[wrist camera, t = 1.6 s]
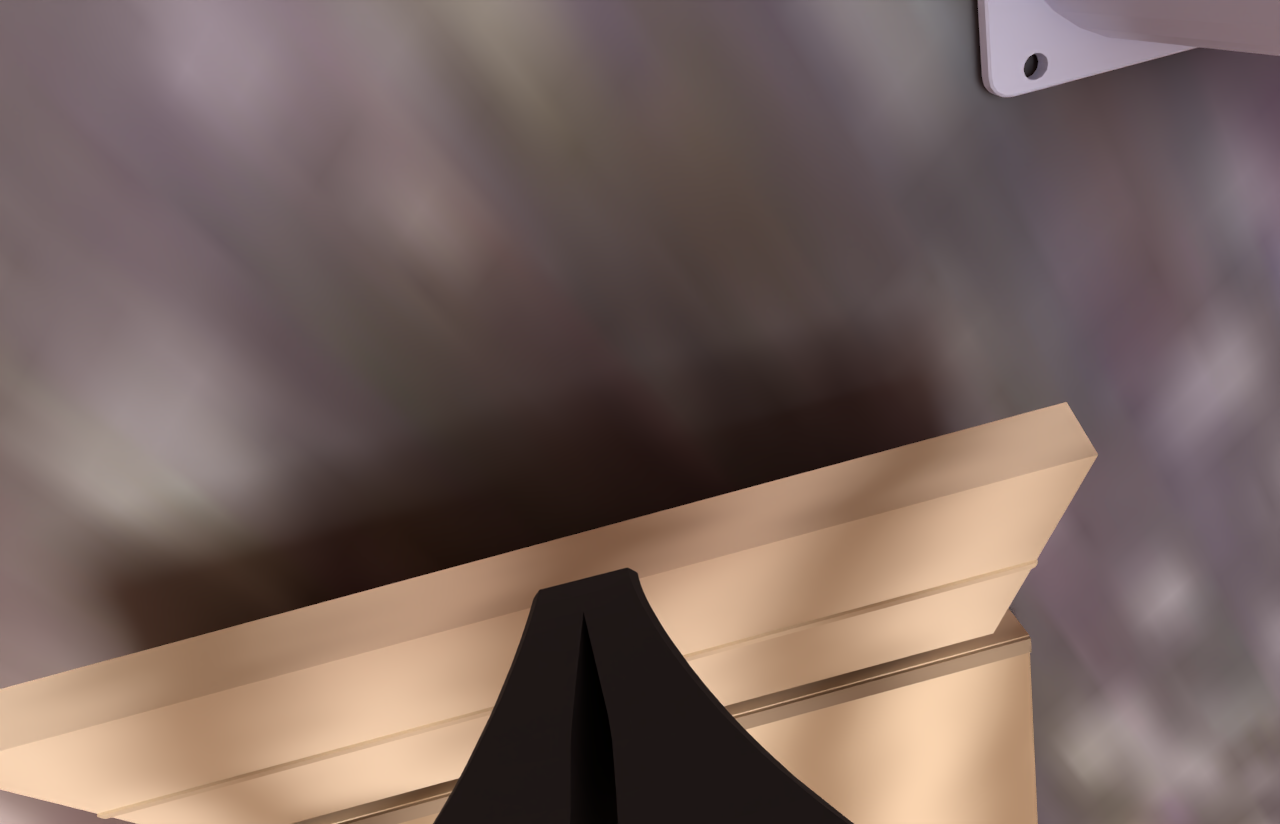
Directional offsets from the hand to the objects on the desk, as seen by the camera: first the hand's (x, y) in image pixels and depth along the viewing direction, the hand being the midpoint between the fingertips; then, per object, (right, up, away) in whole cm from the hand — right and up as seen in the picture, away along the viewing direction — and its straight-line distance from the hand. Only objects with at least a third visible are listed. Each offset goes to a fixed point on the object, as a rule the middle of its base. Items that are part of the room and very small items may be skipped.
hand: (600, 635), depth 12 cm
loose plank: (-1, -2, +9) cm, 9 cm away
